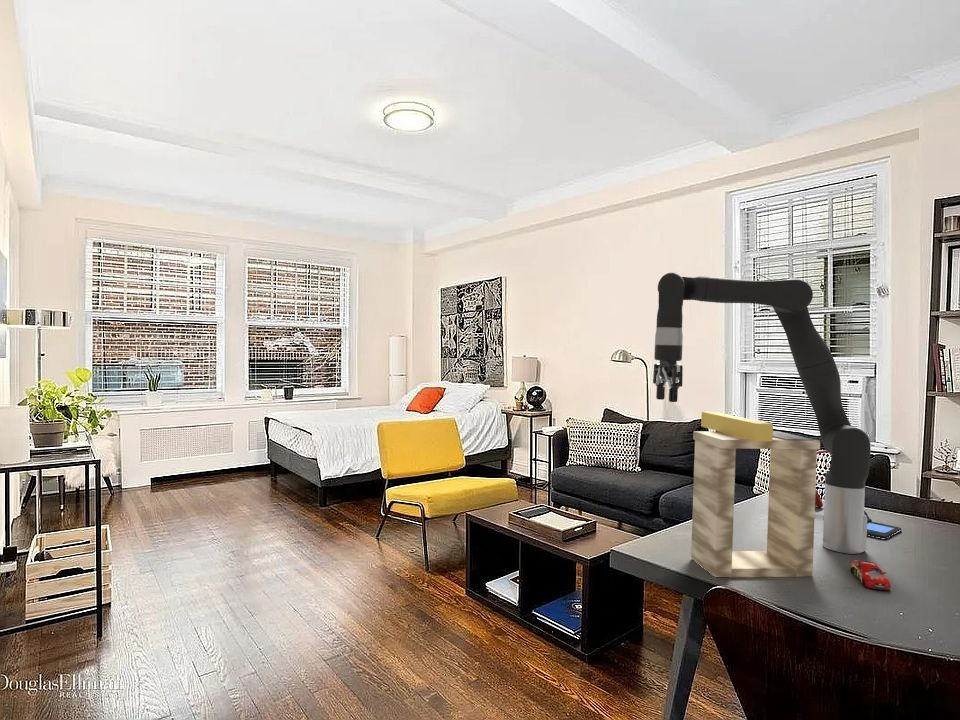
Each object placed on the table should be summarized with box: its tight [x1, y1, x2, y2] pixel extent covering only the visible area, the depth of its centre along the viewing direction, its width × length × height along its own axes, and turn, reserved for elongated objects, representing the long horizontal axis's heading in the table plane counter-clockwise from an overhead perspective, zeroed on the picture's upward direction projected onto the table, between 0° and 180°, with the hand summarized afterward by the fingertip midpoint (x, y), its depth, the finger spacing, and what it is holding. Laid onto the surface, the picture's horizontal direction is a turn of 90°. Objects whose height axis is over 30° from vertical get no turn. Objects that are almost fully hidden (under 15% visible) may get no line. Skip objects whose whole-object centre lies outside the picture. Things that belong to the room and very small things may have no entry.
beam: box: [700, 411, 774, 441], centre depth 148 cm, size 4×26×4 cm, turn 6°
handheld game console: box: [864, 509, 902, 539], centre depth 180 cm, size 16×13×9 cm
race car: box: [850, 559, 892, 591], centre depth 138 cm, size 13×5×4 cm, turn 163°
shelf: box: [690, 430, 821, 578], centre depth 145 cm, size 24×14×32 cm, turn 96°
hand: (666, 400), depth 171 cm, fingers open, 8 cm apart
